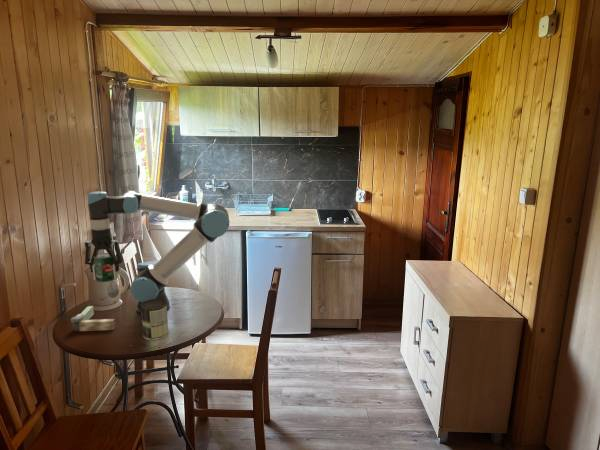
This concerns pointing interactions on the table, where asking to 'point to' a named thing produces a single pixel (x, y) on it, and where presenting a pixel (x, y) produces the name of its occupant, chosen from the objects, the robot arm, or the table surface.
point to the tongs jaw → (84, 315)
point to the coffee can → (154, 319)
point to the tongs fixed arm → (94, 325)
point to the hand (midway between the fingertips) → (106, 278)
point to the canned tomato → (104, 267)
